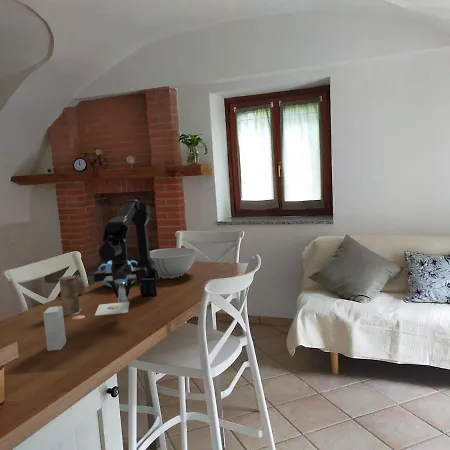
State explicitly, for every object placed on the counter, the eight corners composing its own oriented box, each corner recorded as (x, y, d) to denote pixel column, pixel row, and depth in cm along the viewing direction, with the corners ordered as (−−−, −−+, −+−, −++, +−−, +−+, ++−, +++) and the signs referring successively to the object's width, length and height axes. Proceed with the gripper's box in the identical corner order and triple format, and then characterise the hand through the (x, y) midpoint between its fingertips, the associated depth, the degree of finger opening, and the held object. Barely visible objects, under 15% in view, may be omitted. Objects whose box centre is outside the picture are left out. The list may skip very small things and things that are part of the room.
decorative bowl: (146, 284, 211) (145, 259, 209) (143, 273, 237) (141, 250, 235) (202, 278, 217) (200, 254, 215) (193, 268, 243) (191, 246, 241)
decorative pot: (95, 288, 209) (92, 259, 208) (119, 280, 223) (117, 253, 221) (120, 291, 201) (118, 261, 199) (144, 282, 215) (142, 255, 213)
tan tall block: (73, 309, 176) (69, 275, 174) (80, 311, 173) (77, 277, 171) (61, 312, 172) (58, 278, 170) (69, 314, 169) (65, 279, 167)
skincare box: (52, 343, 140) (48, 306, 139) (66, 342, 140) (62, 305, 139) (46, 351, 134) (42, 312, 133) (61, 350, 134) (57, 311, 133)
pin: (127, 299, 165) (126, 281, 164) (127, 302, 162) (125, 283, 161) (118, 300, 164) (117, 282, 163) (118, 303, 161) (116, 284, 160)
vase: (80, 296, 195) (78, 277, 194) (66, 296, 197) (64, 277, 196) (88, 292, 202) (86, 273, 201) (74, 292, 204) (72, 273, 203)
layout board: (129, 302, 182) (129, 301, 182) (127, 315, 166) (127, 313, 165) (64, 308, 178) (64, 307, 178) (55, 322, 162) (55, 320, 162)
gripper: (89, 261, 152) (93, 306, 153) (144, 257, 154) (148, 300, 156) (93, 255, 163) (97, 297, 164) (145, 251, 165) (148, 292, 167)
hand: (122, 297), depth 163 cm, fingers closed on pin, 3 cm apart
